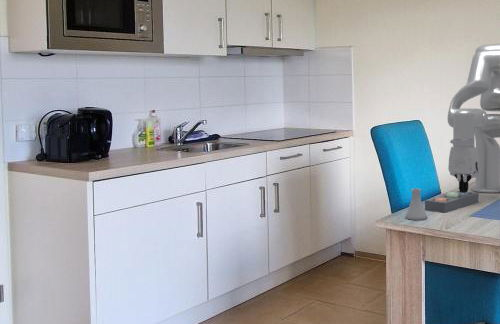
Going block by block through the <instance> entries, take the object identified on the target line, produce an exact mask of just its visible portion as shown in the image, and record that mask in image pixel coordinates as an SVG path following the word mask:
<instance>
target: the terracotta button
mask: <svg viewBox="0 0 500 324" xmlns="http://www.w3.org/2000/svg"><path fill="white" fill-rule="evenodd" d="M434 198H435V197H434ZM435 201H441V202H444V201H447V199H446V198H435Z"/></svg>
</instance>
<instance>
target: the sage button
mask: <svg viewBox="0 0 500 324" xmlns="http://www.w3.org/2000/svg"><path fill="white" fill-rule="evenodd" d="M446 194H447V197H448V198H458V192H457V191H447V192H446Z"/></svg>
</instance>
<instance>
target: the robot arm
mask: <svg viewBox="0 0 500 324" xmlns="http://www.w3.org/2000/svg"><path fill="white" fill-rule="evenodd" d="M470 63H471V64H470V69H469V73H468V78H467V82H466V84H465V85H464V86H463V87H461V88H460V89H459V90H458V91H457V92H456V93H455V94H454V95H453V97H452V99H451V101H450V103H449V108H448V112H447V123H448V126H450V127H451V128H453V130H452V131H453V132H452V133H453V134H452V135H453V137H452V139H450V142H449V143H450V144H452V146H451V147H450V151H449V157H448V168H447V169H448V172H449V175H450V176H452V177H455V178H456V180H457V182H458V191H460V192H463V193H464V192H469V182H470V181H471V179H474V178H475V181H474V182H475V184H474V186H473V185H472V186H471V188H470V189H471V191H473V192H475V193H483V194H484V193H486V194H487V193H489V194H491V193H495V194H496V193H500V144H499V143H498V141H497V140H496V138H499V139H500V113H487V112H500V43H489V44H484V45H483V44H482V45H480V46H477V48H476V49H475V53H474V54H473V57H472V59H471V62H470ZM478 96H480V99H479V101H480V102H479V103H480V105H479V106H480V108H461V106H463V104H465V103H466V102H468V101H469V100H471V99H473V98H475V97H478Z"/></svg>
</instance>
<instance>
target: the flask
mask: <svg viewBox="0 0 500 324" xmlns="http://www.w3.org/2000/svg"><path fill="white" fill-rule="evenodd" d="M410 191H411V200H410V202H409V206H408V208H407V212H406V214H405V218H406V219H407V220H413V221H415V220H416V221H418V220H419V221H420V220H427V218H428V215H427V213H426V210H425V207H424V206H423V202H422V198H421V191H422V189H421V188H411V190H410Z"/></svg>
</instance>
